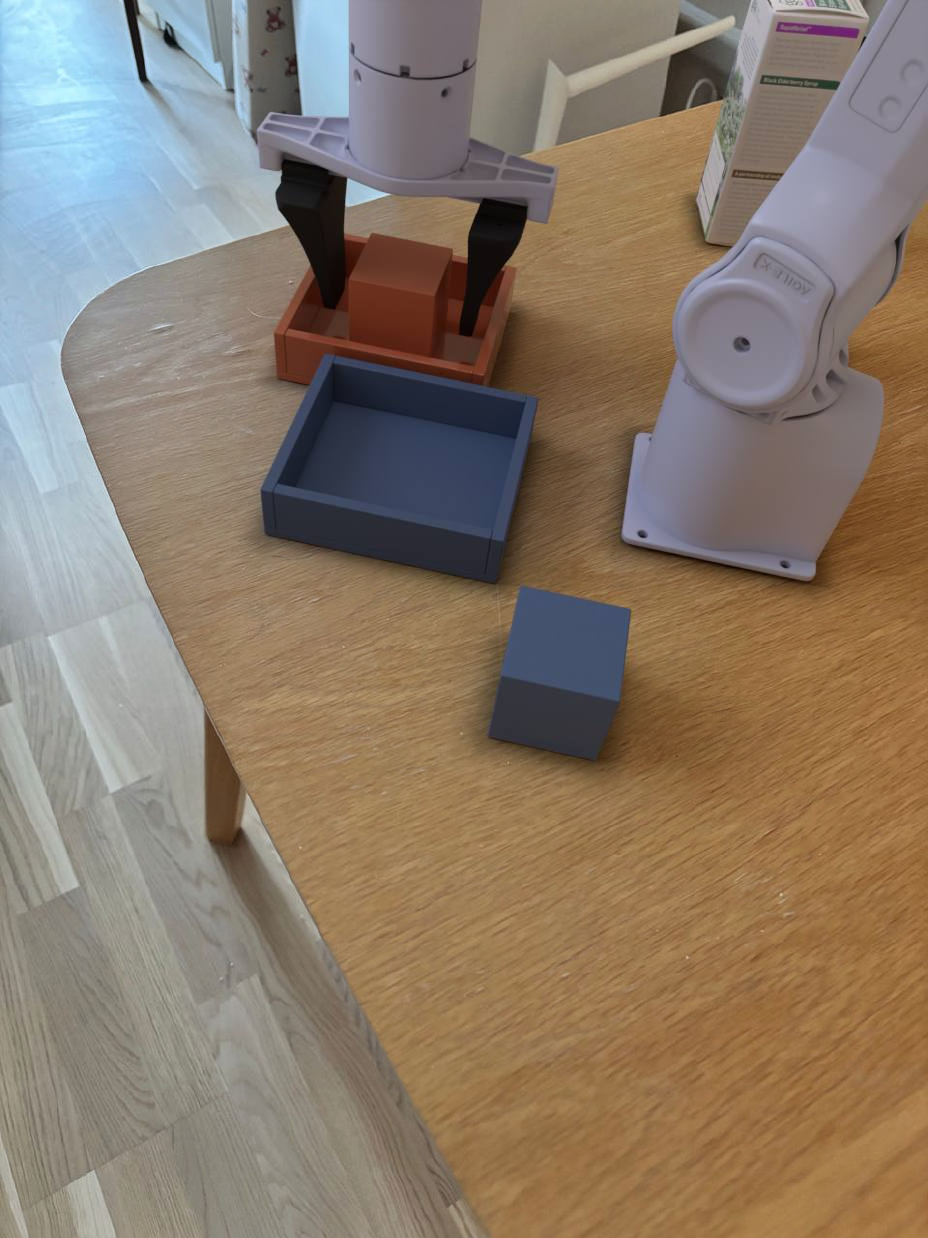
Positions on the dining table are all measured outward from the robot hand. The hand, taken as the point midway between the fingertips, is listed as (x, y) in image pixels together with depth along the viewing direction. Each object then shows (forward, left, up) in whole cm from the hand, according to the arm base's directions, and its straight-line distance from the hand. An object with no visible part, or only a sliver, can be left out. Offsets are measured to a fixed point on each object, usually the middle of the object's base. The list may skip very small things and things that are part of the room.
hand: (401, 312), depth 54 cm
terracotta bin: (0, 0, -2) cm, 2 cm away
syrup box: (-19, -20, -2) cm, 28 cm away
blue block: (-12, +22, -2) cm, 25 cm away
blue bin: (-3, +11, -2) cm, 12 cm away
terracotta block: (0, 0, -2) cm, 2 cm away
